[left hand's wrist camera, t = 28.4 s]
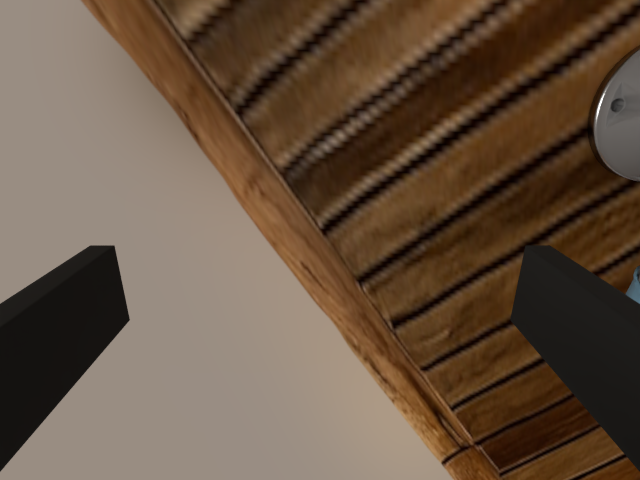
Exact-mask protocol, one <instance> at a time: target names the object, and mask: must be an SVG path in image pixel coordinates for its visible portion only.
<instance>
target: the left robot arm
mask: <svg viewBox="0 0 640 480" xmlns="http://www.w3.org/2000/svg"><path fill="white" fill-rule="evenodd" d="M588 137H589V142H590V146H591V149H592V151H593V153H594V156H595V157H596V159H597V160H598V161H599V163H600V164H601V165H602V166H603V167H604V168H605V169H607V170H608V171H610V172H611V173H613V174H615V175H617V176H620V177H624V178H627V179H631V180H635V181H640V46H638V47H636V48H635V49H633V50H632V51H630V52H629V53H628V54H627V55H625V56H624V57H623V58H622V59H621V60H620V61H619V62H618V63H617V64H616V65H615V66H614V67H613V68H612V69H611V71H610V72H609V73H608V74H607V76H606V77H605V79H604V80H603V82H602V83H601V85H600V87H599V89H598V90H597V93H596V95H595V97H594V100H593V102H592V105H591V109H590V113H589V118H588ZM633 276H634V279H633V281H632V283H631V285H630V287H629V289H628V291H627V292H626V294H624V293H622V292H621V291H619V290H618V289H616V288H614V287H613V286H611V285H610V284H608V283H607V282H605V281H604V280H602V279H601V278H599V277H597V276H596V275H594V274H593V273H591V272H590V271H588V270H587V269H585V268H584V267H582V266H580V265H579V264H577V263H576V262H574V261H573V260H571V259H570V258H568V257H567V256H565V255H563V254H562V253H560V252H559V251H557V250H556V249H554V248H553V247H551V246H525V251H524V256H523V261H522V266H521V271H520V275H519V280H518V285H517V290H516V295H515V300H514V305H513V309H512V314H511V319H510V320H511V321H512V323H513V324H514V325H515V326H516V327H517V328H518V330H519V331H520V332H521V333H522V334H523V335H524V337H525V338H526V339H527V340H528V341H529V342H530V344H531V345H532V346H533V347H534V348H535V349H536V351H537V352H538V353H539V354H540V355H541V357H542V358H543V359H544V360H545V361H546V362H547V364H548V365H549V366H550V367H551V368H552V369H553V371H554V372H555V373H556V374H557V375H558V376H559V378H560V379H561V380H562V381H563V382H564V383H565V385H566V386H567V387H568V388H569V389H570V390H571V392H572V393H573V394H574V395H575V396H576V397H577V399H578V400H579V401H580V402H581V403H582V405H583V406H584V407H585V408H586V409H587V410H588V412H589V413H590V414H591V415H592V416H593V417H594V419H595V420H596V421H597V422H598V423H599V424H600V426H601V427H602V428H603V429H604V430H605V431H606V433H607V434H608V435H609V436H610V437H611V438H612V440H613V441H614V442H615V443H616V444H617V445H618V447H619V448H620V449H621V450H622V451H623V453H624V454H625V455H626V456H627V457H628V458H629V460H630V461H631V462H632V463H633V464H634V465H635V467H636V468H637V469H638V470H639V471H640V266H638V267H637V268H636V270H635V272H634V275H633ZM129 320H130V319H129V314H128V309H127V305H126V300H125V295H124V290H123V285H122V281H121V275H120V271H119V266H118V261H117V256H116V251H115V246H89V247H87V248H86V249H84V250H83V251H81V252H80V253H78V254H77V255H75V256H73V257H72V258H70V259H69V260H67V261H66V262H64V263H63V264H61V265H60V266H58V267H56V268H55V269H53V270H52V271H50V272H49V273H47V274H46V275H44V276H43V277H41V278H40V279H38V280H36V281H35V282H33V283H32V284H30V285H29V286H27V287H26V288H24V289H23V290H21V291H19V292H18V293H16V294H15V295H13V296H12V297H10V298H9V299H7V300H5V301H4V302H2V303H1V304H0V471H1V470H2V469H3V468H4V467H5V465H6V464H7V463H8V462H9V461H10V459H11V458H12V457H13V456H14V455H15V454H16V452H17V451H18V450H19V449H20V448H21V447H22V445H23V444H24V443H25V442H26V441H27V440H28V438H29V437H30V436H31V435H32V434H33V433H34V431H35V430H36V429H37V428H38V427H39V426H40V424H41V423H42V422H43V421H44V420H45V419H46V417H47V416H48V415H49V414H50V413H51V412H52V410H53V409H54V408H55V407H56V406H57V404H58V403H59V402H60V401H61V400H62V399H63V397H64V396H65V395H66V394H67V393H68V392H69V390H70V389H71V388H72V387H73V386H74V385H75V383H76V382H77V381H78V380H79V379H80V378H81V376H82V375H83V374H84V373H85V372H86V371H87V369H88V368H89V367H90V366H91V365H92V363H93V362H94V361H95V360H96V359H97V358H98V356H99V355H100V354H101V353H102V352H103V351H104V349H105V348H106V347H107V346H108V345H109V344H110V342H111V341H112V340H113V339H114V338H115V337H116V335H117V334H118V333H119V332H120V331H121V330H122V328H123V327H124V326H125V325H126V324H127V322H128V321H129Z"/></svg>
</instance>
